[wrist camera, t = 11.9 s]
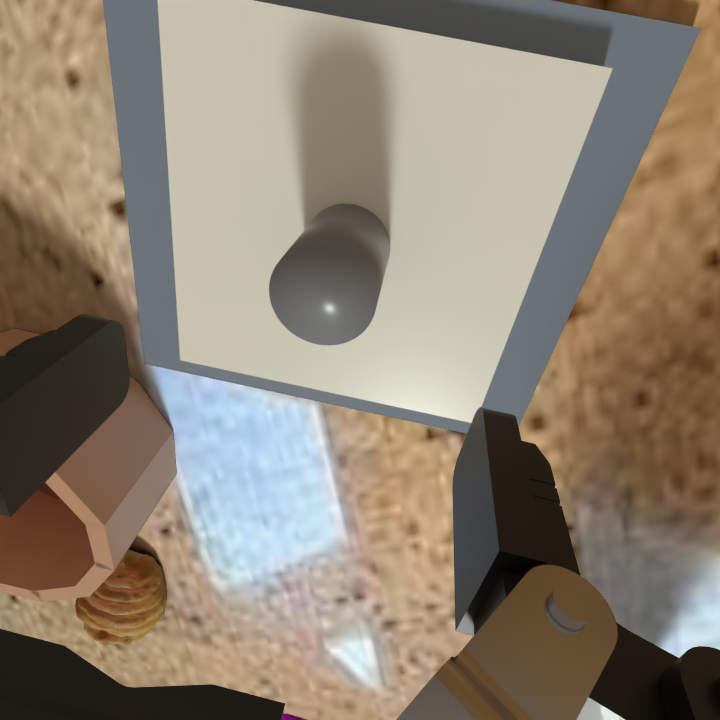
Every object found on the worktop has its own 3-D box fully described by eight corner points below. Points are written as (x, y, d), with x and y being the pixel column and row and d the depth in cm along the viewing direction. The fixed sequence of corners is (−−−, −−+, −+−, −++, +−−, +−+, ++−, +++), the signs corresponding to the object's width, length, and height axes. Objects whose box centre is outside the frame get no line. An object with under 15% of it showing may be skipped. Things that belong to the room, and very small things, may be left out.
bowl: (167, 361, 26) (87, 449, 20) (180, 523, 33) (125, 621, 27) (-75, 309, 26) (-224, 379, 20) (-7, 480, 34) (-101, 568, 28)
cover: (603, 68, 16) (682, 69, 11) (473, 411, 24) (482, 503, 19) (171, -14, 16) (49, -51, 11) (188, 350, 24) (123, 424, 19)
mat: (692, 29, 15) (701, 28, 15) (509, 435, 25) (510, 442, 25) (104, -80, 16) (93, -86, 15) (150, 357, 26) (144, 363, 25)
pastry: (95, 527, 35) (61, 573, 32) (180, 556, 36) (156, 604, 33) (92, 590, 41) (62, 635, 37) (167, 614, 41) (144, 661, 38)
